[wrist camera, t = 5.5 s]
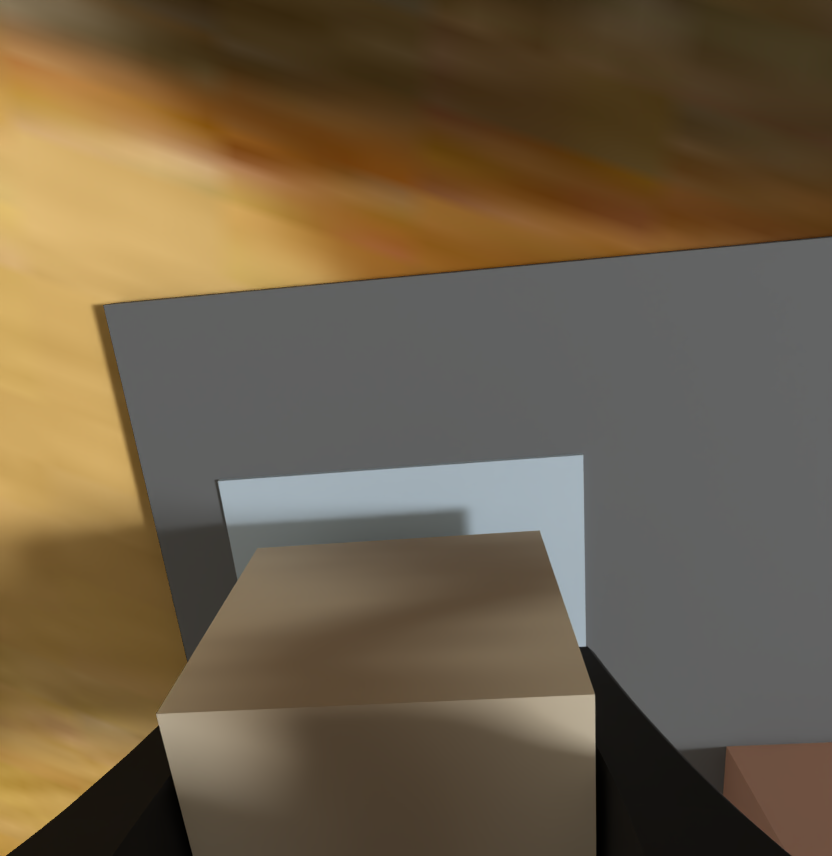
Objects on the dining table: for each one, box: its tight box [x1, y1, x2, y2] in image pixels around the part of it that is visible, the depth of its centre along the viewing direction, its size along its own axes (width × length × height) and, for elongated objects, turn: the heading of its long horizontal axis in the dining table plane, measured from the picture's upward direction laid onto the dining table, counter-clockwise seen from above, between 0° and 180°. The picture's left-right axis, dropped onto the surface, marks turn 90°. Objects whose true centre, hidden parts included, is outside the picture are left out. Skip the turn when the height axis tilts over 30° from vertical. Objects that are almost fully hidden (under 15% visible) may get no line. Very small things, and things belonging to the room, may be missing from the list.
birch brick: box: [156, 530, 596, 856], centre depth 9 cm, size 5×5×4 cm
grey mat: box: [103, 236, 832, 795], centre depth 13 cm, size 20×16×1 cm
